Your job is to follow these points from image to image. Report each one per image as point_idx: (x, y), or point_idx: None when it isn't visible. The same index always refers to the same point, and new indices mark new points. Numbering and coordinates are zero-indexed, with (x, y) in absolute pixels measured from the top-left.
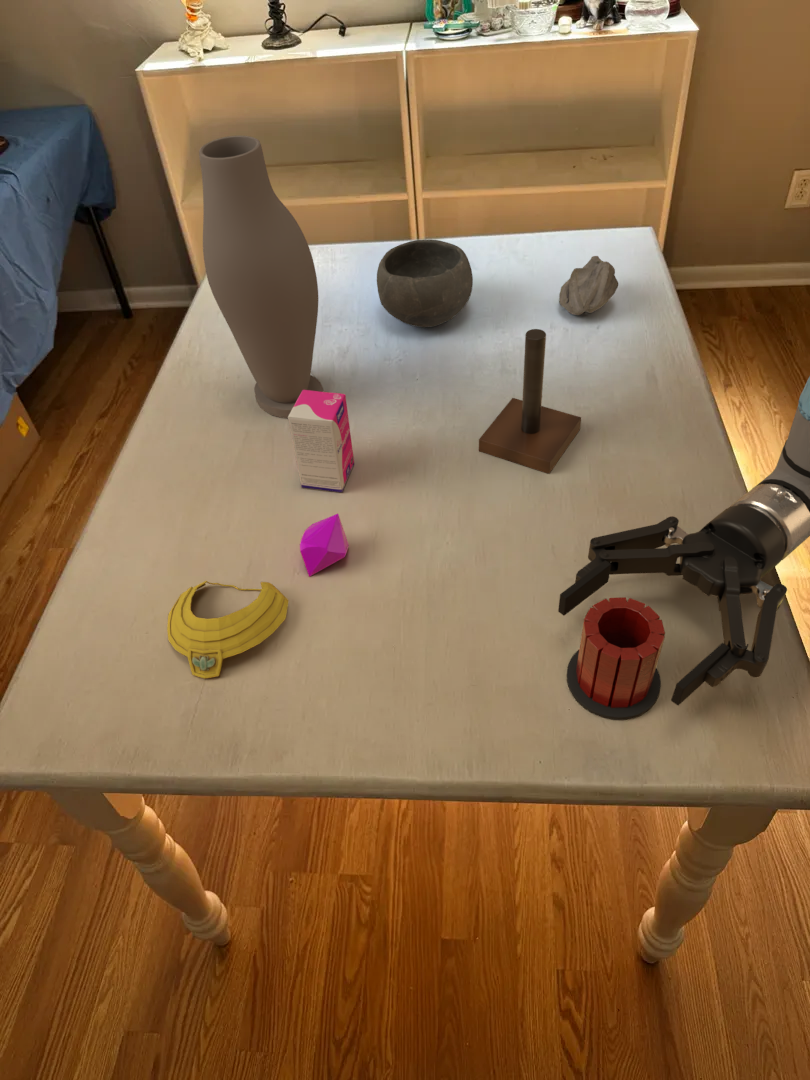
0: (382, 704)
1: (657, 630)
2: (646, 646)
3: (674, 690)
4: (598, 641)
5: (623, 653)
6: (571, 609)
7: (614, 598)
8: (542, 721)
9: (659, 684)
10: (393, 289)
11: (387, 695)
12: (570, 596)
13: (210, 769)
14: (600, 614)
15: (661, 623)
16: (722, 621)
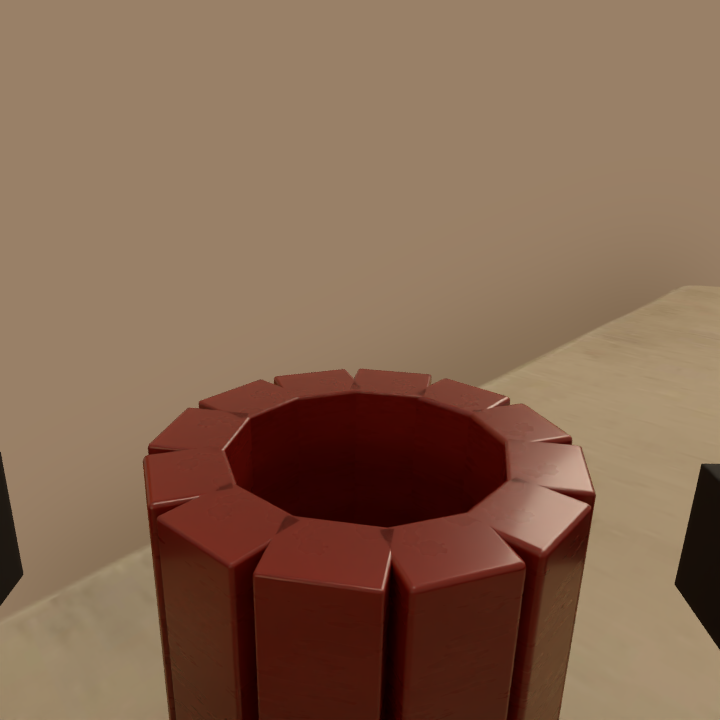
0: (624, 426)
1: (208, 507)
2: (207, 438)
3: (9, 504)
4: (388, 380)
5: (272, 388)
6: (702, 620)
7: (569, 510)
8: None
9: None
10: None
11: (643, 436)
12: (717, 493)
13: (609, 328)
14: (506, 436)
15: (214, 547)
16: None
